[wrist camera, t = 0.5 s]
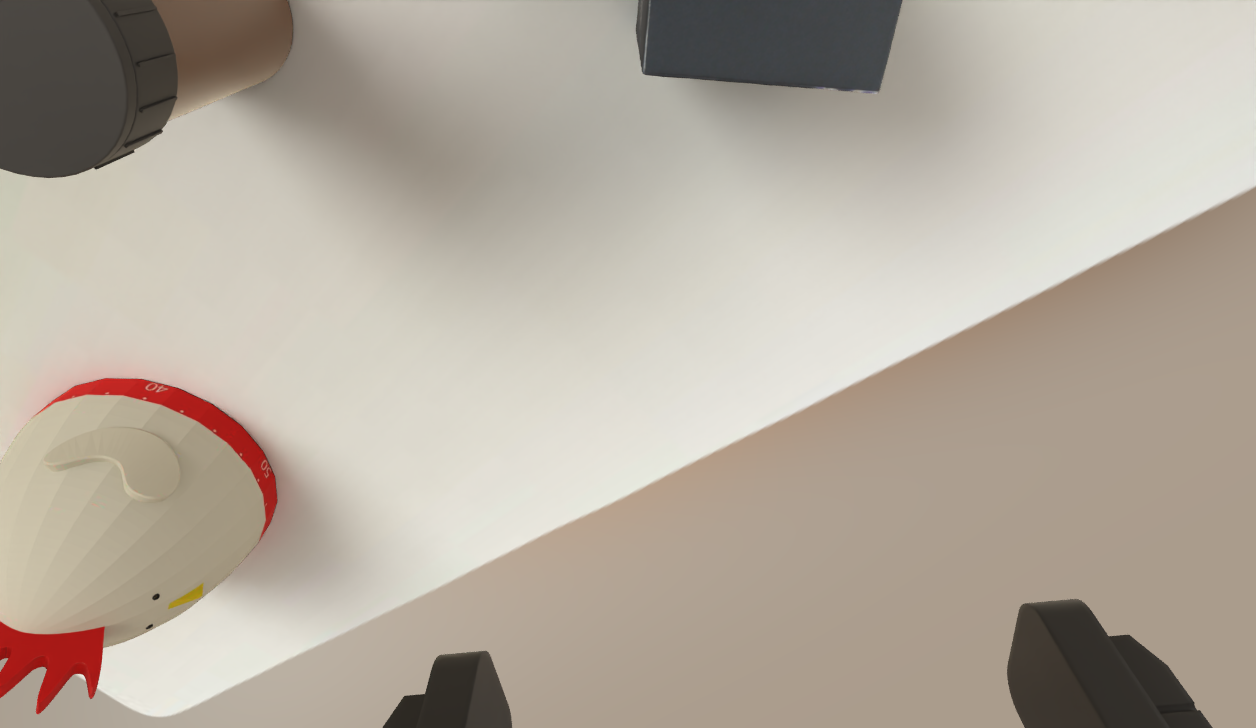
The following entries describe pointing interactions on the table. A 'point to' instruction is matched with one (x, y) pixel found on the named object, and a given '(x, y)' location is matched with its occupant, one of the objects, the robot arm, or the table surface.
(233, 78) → the jar
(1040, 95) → the table surface
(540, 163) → the table surface
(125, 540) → the kitchen timer
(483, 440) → the table surface
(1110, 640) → the robot arm
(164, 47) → the lid
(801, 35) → the box
